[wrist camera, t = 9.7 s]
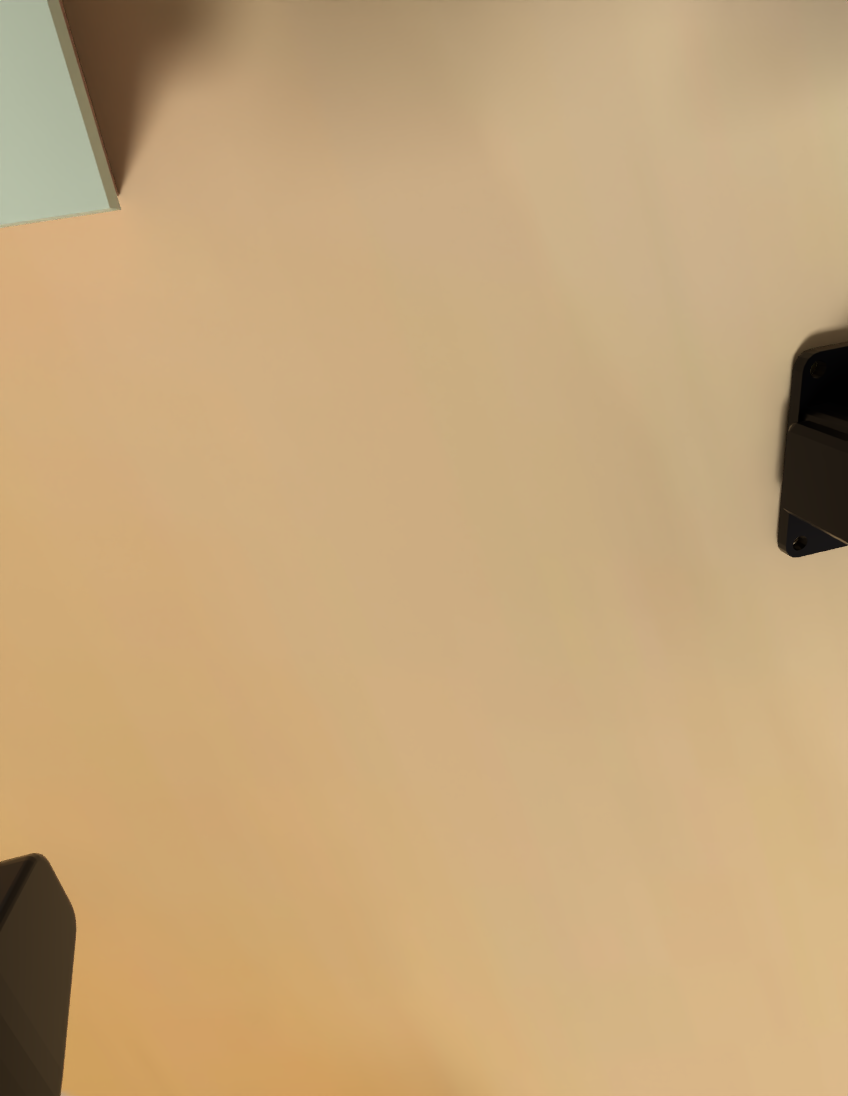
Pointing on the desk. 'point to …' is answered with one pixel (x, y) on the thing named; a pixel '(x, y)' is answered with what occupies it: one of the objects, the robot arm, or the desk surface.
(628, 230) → the desk surface
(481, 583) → the desk surface
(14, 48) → the lid
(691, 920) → the desk surface
